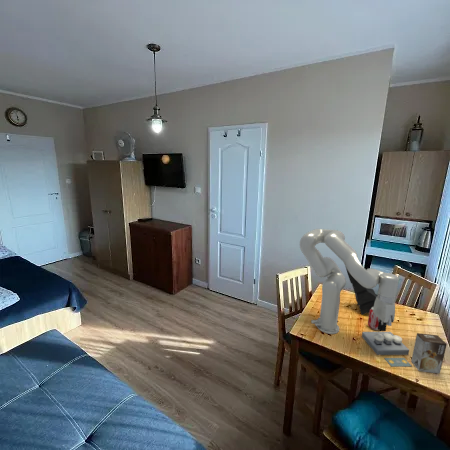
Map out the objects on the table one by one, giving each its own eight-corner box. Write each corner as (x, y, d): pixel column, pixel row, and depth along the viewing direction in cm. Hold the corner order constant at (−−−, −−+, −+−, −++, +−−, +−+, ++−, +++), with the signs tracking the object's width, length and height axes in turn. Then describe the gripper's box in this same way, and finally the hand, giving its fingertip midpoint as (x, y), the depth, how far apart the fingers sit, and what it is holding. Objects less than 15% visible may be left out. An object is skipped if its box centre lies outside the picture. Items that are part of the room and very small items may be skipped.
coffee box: (431, 363, 119) (438, 334, 115) (440, 374, 113) (447, 344, 109) (410, 361, 120) (416, 332, 117) (418, 371, 114) (425, 341, 110)
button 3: (395, 347, 127) (396, 340, 126) (389, 342, 131) (391, 335, 130) (402, 347, 127) (404, 340, 126) (397, 342, 131) (398, 335, 130)
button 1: (376, 345, 126) (377, 338, 125) (371, 340, 130) (373, 332, 129) (384, 345, 126) (385, 338, 125) (379, 340, 130) (380, 332, 129)
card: (391, 366, 117) (391, 365, 117) (384, 358, 122) (384, 357, 121) (411, 366, 117) (411, 365, 117) (404, 358, 122) (404, 357, 122)
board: (377, 354, 124) (378, 349, 123) (361, 336, 138) (362, 331, 137) (408, 354, 124) (409, 349, 124) (389, 336, 138) (390, 331, 137)
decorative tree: (361, 308, 171) (334, 266, 171) (383, 301, 165) (355, 257, 165) (364, 320, 157) (335, 274, 158) (388, 312, 151) (358, 264, 152)
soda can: (383, 332, 142) (386, 313, 139) (369, 330, 143) (372, 312, 140) (378, 324, 148) (381, 306, 146) (365, 323, 150) (368, 305, 147)
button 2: (386, 345, 126) (387, 338, 125) (381, 340, 130) (382, 332, 129) (393, 345, 126) (395, 338, 125) (388, 340, 130) (389, 332, 129)
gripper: (369, 290, 129) (365, 321, 133) (388, 305, 115) (383, 340, 119) (383, 290, 130) (379, 321, 133) (404, 305, 115) (399, 339, 119)
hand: (381, 330), depth 126 cm, fingers closed
